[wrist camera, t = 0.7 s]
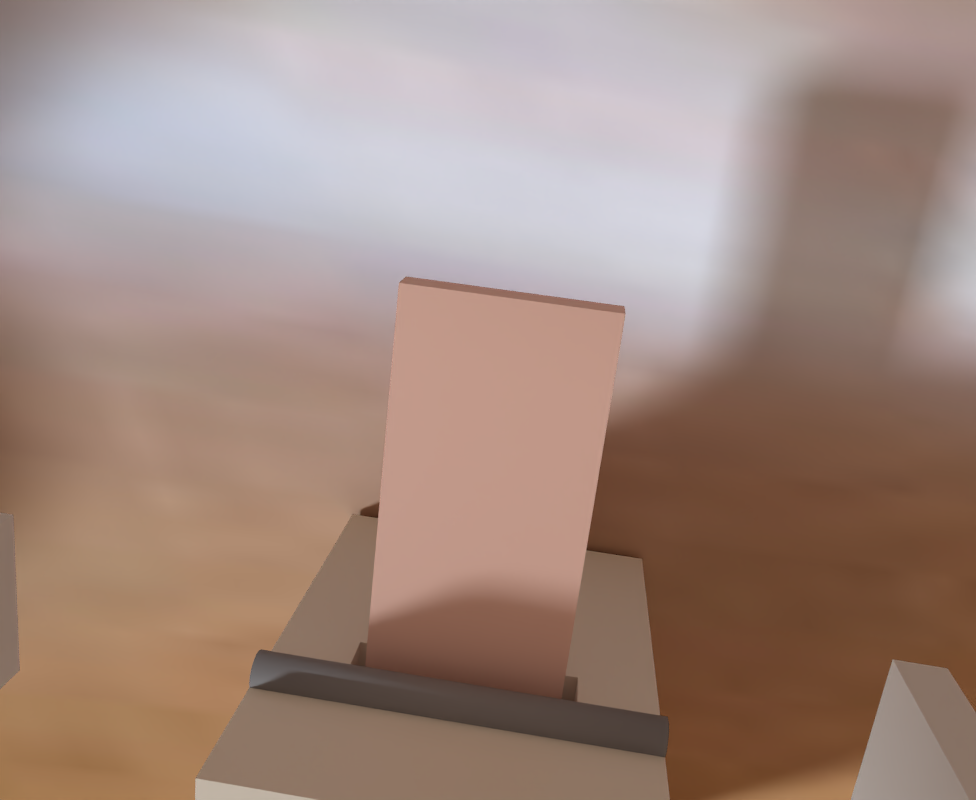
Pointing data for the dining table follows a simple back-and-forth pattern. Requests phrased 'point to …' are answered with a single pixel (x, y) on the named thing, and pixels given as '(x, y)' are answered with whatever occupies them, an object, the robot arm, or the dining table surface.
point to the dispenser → (443, 707)
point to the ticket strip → (489, 482)
